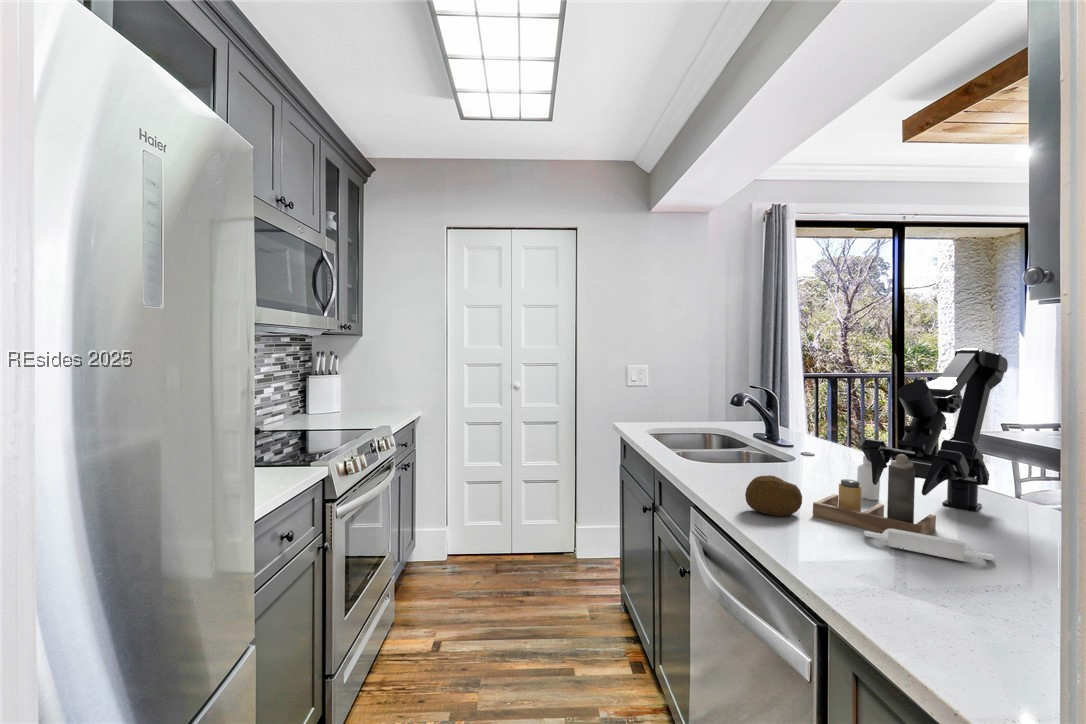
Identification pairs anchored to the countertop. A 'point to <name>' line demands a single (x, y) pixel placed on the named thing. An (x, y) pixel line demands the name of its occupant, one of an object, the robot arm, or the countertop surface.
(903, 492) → the pepper mill
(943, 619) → the countertop surface
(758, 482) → the potato
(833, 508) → the slot rack
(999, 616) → the countertop surface
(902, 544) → the rolling pin
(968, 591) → the countertop surface
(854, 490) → the amber jar
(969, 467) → the robot arm
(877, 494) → the eye dropper bottle
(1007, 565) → the countertop surface
